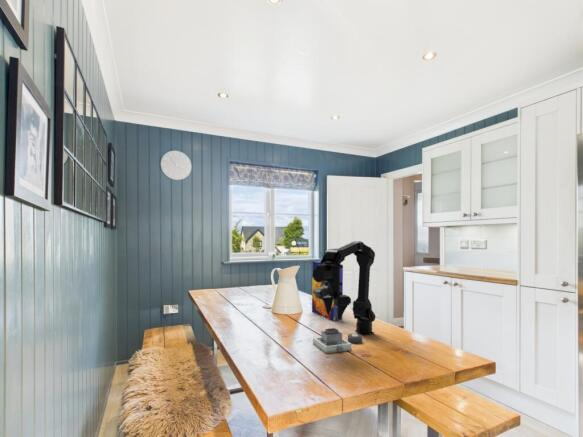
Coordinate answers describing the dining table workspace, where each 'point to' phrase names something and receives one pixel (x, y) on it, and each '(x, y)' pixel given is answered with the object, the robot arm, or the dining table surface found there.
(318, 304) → the cereal box
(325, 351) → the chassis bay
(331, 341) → the grey stepped block
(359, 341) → the spare wheel
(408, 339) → the dining table surface
